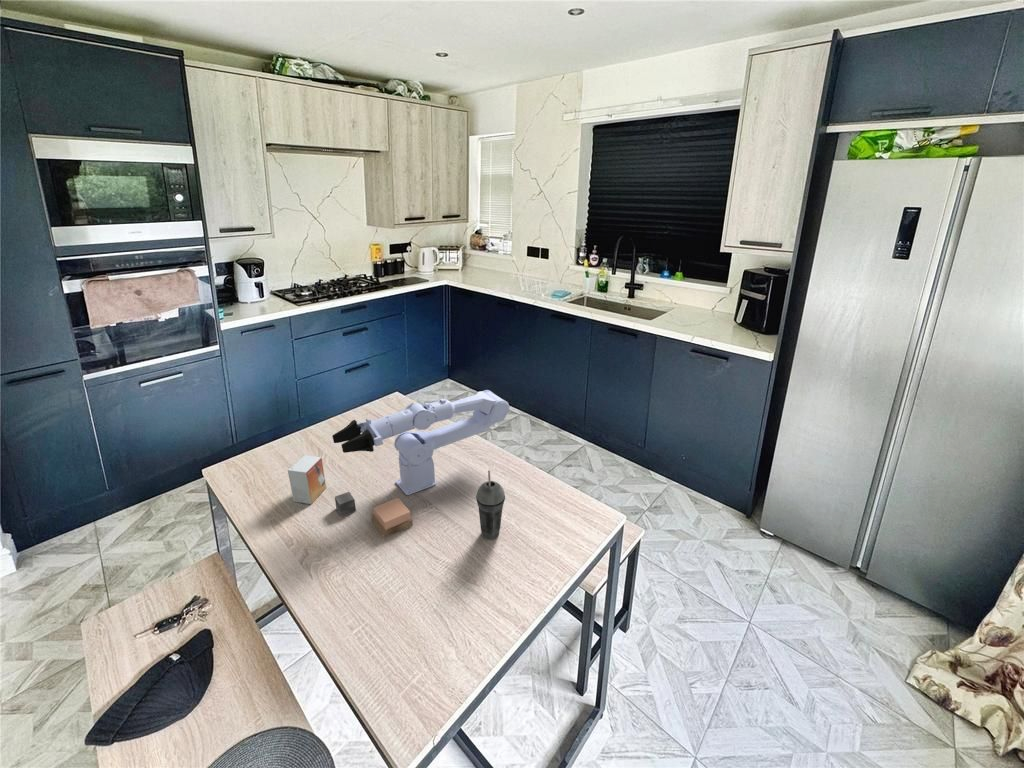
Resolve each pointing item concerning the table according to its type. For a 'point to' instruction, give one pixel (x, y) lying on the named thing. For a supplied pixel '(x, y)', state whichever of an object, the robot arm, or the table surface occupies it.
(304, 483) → the small box
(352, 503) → the charcoal cube
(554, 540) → the table surface
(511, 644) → the table surface
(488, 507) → the beverage cup
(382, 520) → the terracotta slab
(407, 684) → the table surface
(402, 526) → the walnut slab
